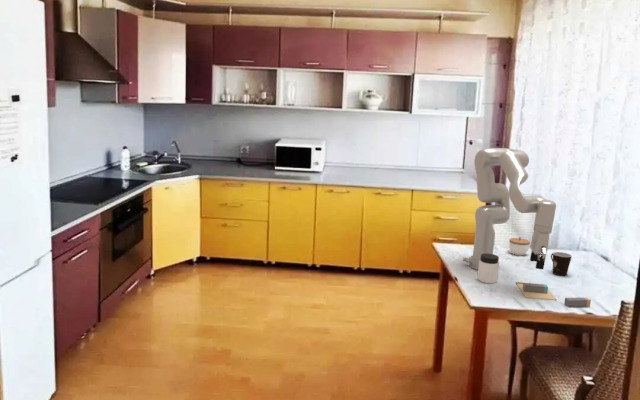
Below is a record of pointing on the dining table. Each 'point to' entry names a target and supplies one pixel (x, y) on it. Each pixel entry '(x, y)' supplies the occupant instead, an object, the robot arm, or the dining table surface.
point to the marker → (535, 288)
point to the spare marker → (577, 302)
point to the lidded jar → (519, 246)
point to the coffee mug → (560, 263)
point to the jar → (488, 268)
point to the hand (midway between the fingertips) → (536, 264)
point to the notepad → (536, 295)
